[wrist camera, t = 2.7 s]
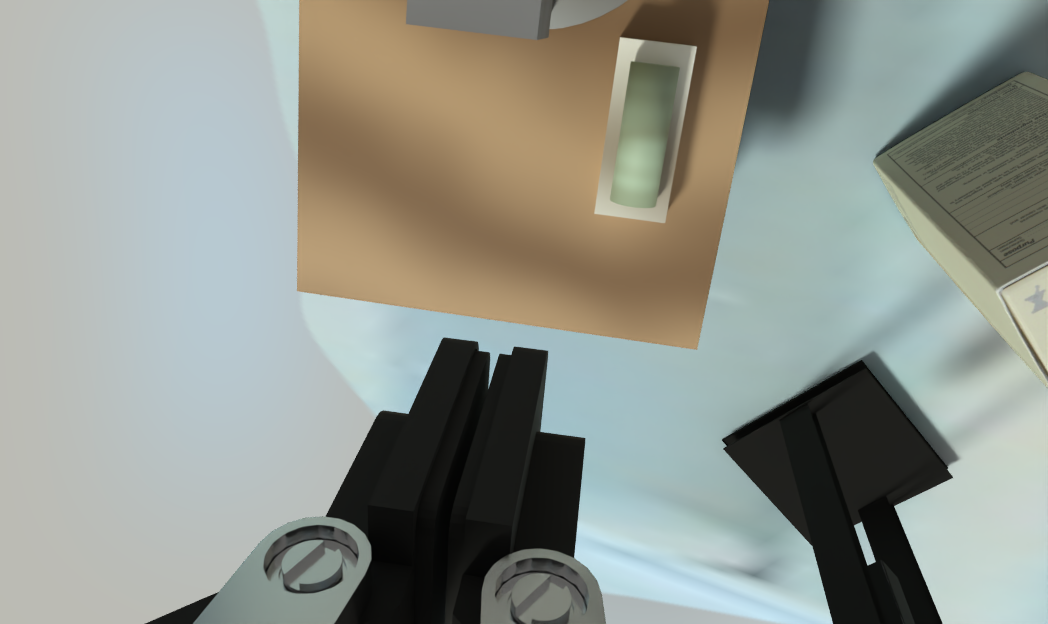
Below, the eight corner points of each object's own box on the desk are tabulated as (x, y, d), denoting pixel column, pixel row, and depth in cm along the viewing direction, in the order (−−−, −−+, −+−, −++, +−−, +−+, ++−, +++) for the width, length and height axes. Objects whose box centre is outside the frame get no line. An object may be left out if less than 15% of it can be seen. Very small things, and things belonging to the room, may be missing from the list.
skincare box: (916, 241, 32) (1052, 413, 22) (866, 154, 31) (985, 293, 20) (1078, 156, 30) (1319, 302, 19) (1032, 58, 29) (1264, 157, 18)
